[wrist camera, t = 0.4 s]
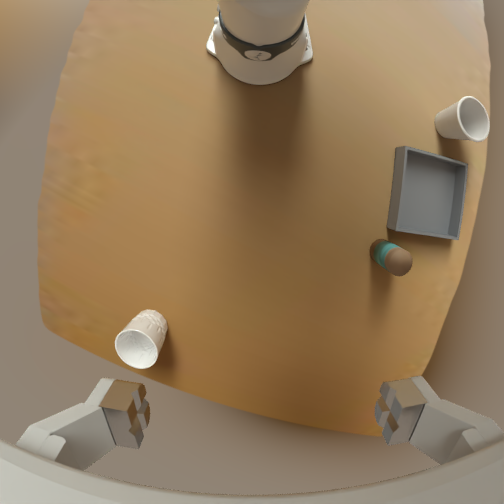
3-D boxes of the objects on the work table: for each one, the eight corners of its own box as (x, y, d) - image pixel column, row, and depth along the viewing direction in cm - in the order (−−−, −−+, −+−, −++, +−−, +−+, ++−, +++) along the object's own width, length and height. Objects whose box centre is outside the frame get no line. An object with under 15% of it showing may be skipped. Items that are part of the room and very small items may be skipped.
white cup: (161, 301, 57) (145, 324, 48) (177, 337, 59) (165, 364, 49) (127, 311, 58) (107, 334, 48) (143, 345, 60) (127, 372, 50)
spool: (371, 237, 55) (391, 248, 46) (392, 240, 55) (414, 250, 46) (367, 261, 56) (386, 275, 47) (388, 263, 56) (409, 277, 47)
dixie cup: (461, 113, 49) (491, 107, 39) (458, 150, 50) (488, 148, 41) (431, 98, 48) (459, 88, 38) (426, 136, 50) (455, 131, 40)
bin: (395, 147, 51) (405, 146, 47) (456, 164, 51) (467, 164, 47) (386, 227, 54) (395, 230, 50) (447, 236, 55) (458, 240, 51)
